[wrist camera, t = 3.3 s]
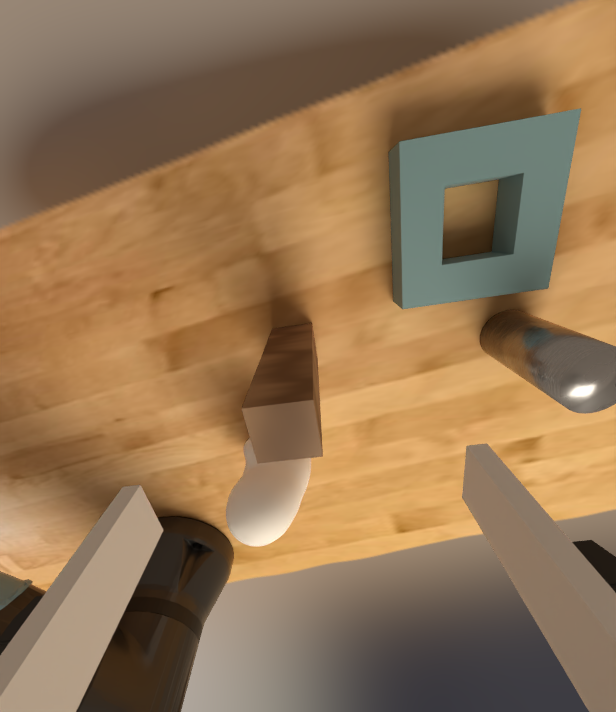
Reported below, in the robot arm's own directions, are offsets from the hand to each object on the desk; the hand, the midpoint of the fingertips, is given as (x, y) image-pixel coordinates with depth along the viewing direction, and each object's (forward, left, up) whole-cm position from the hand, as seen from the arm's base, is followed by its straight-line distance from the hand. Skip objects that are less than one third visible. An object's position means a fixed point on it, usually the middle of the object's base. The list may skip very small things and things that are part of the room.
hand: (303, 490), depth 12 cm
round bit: (+20, -3, -19) cm, 27 cm away
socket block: (+15, +8, -19) cm, 25 cm away
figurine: (-5, -13, -19) cm, 23 cm away
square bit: (-1, -1, -19) cm, 19 cm away
